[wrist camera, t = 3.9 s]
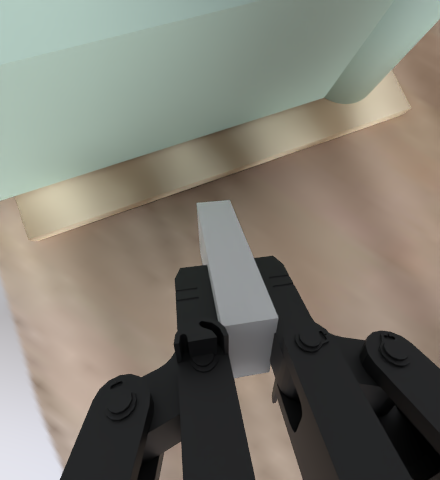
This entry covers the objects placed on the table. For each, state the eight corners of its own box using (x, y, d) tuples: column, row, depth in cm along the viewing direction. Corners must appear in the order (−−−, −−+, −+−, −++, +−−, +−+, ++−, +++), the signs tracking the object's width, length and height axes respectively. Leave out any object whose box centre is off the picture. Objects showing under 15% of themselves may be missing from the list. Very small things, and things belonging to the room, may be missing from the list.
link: (356, 30, 19) (467, -139, 12) (387, 92, 19) (524, -42, 11) (-86, 155, 15) (-383, 18, 7) (-62, 239, 14) (-353, 189, 7)
